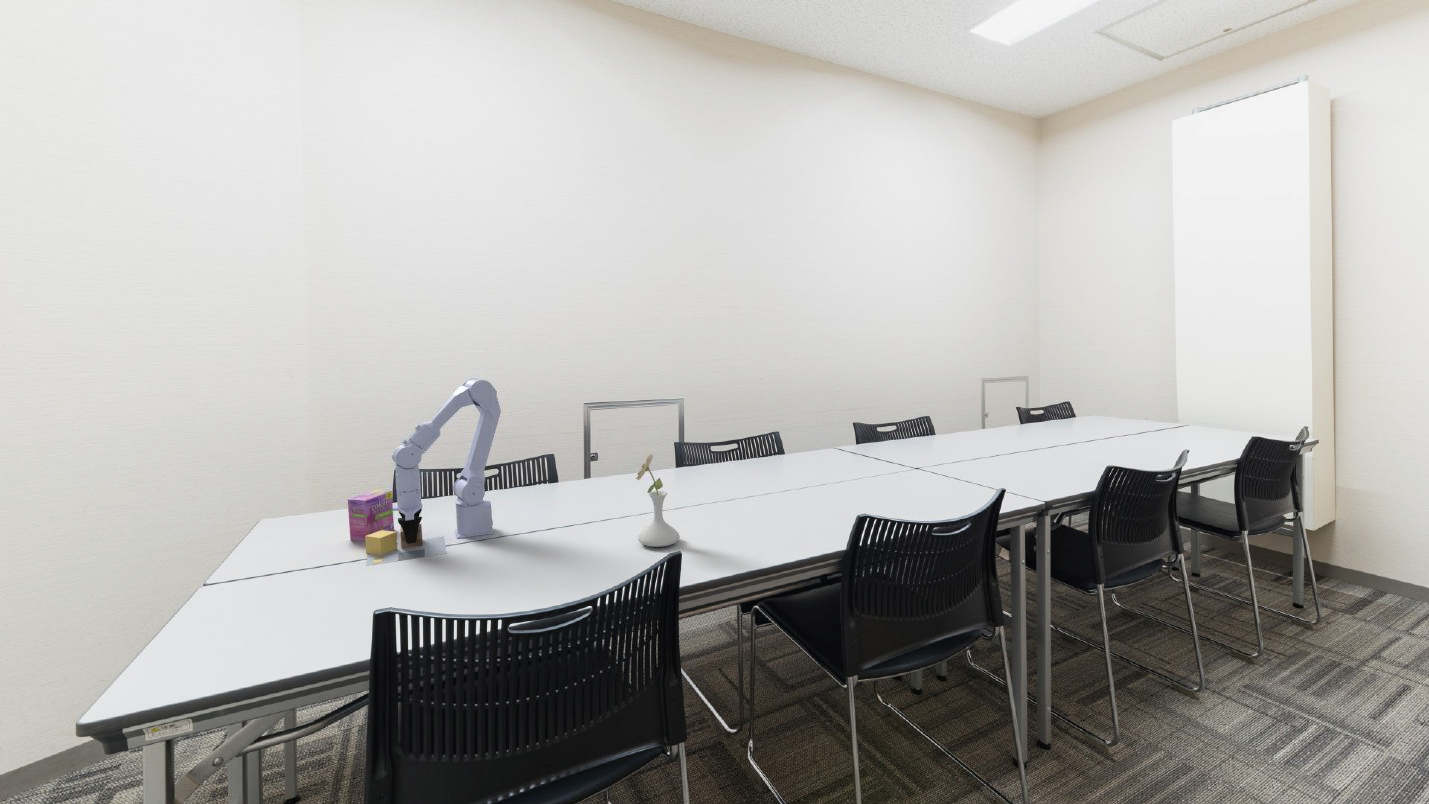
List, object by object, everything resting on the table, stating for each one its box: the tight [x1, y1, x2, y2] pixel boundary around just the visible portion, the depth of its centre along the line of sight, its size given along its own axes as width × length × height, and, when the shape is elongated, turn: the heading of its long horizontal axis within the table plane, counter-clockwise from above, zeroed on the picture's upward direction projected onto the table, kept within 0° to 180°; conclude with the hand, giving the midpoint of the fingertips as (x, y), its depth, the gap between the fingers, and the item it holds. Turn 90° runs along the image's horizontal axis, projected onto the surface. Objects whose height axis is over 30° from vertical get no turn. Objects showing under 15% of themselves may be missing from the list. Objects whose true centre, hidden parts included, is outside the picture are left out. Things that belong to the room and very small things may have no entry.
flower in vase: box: [635, 453, 681, 548], centre depth 158 cm, size 13×11×25 cm
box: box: [347, 489, 395, 542], centre depth 167 cm, size 10×6×12 cm, turn 168°
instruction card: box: [365, 535, 447, 567], centre depth 155 cm, size 18×15×1 cm
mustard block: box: [365, 530, 398, 555], centre depth 154 cm, size 5×5×4 cm
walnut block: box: [399, 523, 423, 548], centre depth 159 cm, size 5×5×4 cm
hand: (411, 539), depth 159 cm, fingers open, 6 cm apart
